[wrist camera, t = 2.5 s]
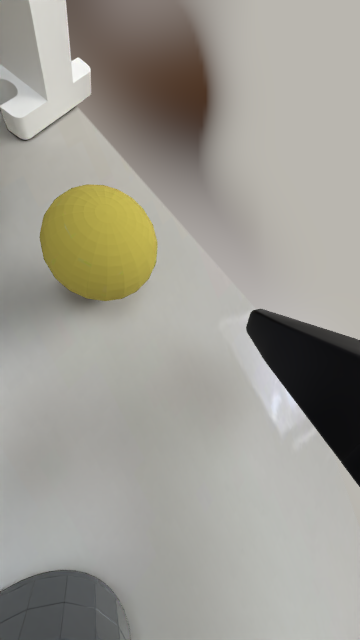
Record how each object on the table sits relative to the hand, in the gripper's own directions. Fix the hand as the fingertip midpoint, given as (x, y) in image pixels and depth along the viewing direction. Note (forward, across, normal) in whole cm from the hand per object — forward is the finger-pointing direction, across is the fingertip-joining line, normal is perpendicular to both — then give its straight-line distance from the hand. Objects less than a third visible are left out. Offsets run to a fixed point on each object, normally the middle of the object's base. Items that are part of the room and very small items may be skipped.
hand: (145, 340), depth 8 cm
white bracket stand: (+27, +2, -9) cm, 29 cm away
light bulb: (+14, 0, +4) cm, 14 cm away
